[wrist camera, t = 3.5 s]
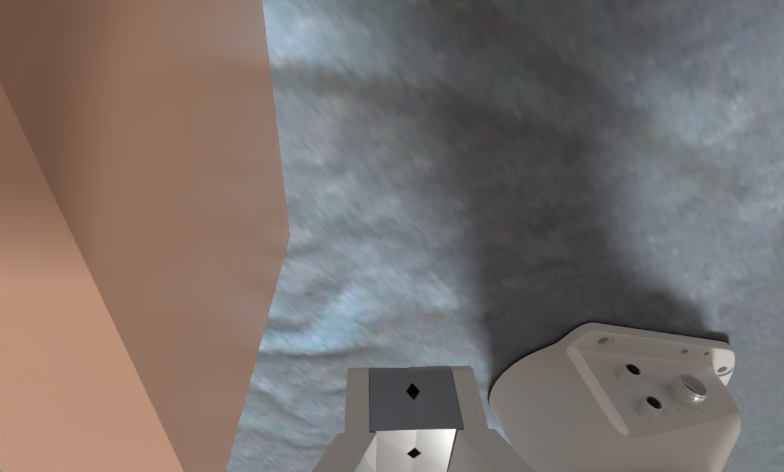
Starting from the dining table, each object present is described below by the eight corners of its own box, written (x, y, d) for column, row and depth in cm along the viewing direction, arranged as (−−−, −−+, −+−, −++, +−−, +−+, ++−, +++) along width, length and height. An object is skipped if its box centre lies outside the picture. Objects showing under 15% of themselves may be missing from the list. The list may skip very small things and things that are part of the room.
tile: (257, -36, 20) (-37, 4, 6) (289, 235, 29) (209, 526, 15) (146, -41, 20) (-480, -13, 5) (213, 234, 29) (52, 532, 14)
